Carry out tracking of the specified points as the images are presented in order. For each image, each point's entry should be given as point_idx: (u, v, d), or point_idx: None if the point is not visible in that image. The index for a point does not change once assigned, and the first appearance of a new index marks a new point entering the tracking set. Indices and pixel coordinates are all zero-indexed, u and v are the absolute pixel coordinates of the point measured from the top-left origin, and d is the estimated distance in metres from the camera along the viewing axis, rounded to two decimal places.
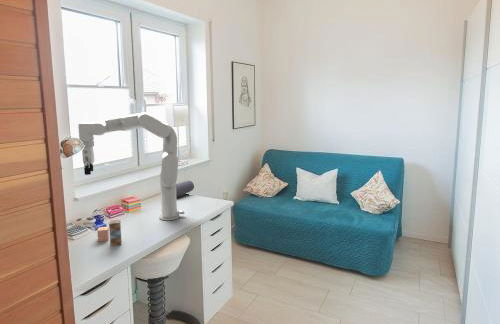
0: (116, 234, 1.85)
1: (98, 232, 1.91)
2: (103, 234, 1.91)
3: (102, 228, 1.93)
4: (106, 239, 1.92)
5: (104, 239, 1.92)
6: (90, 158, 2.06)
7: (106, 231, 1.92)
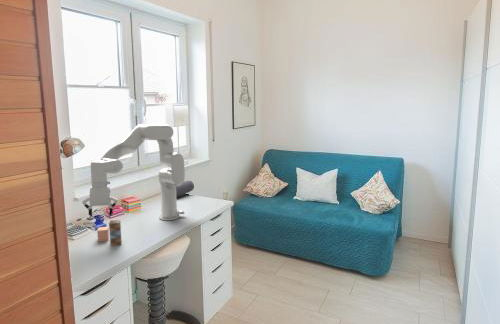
0: (116, 234, 1.85)
1: (98, 232, 1.91)
2: (103, 234, 1.91)
3: (102, 228, 1.93)
4: (106, 239, 1.92)
5: (104, 239, 1.92)
6: None
7: (106, 231, 1.92)
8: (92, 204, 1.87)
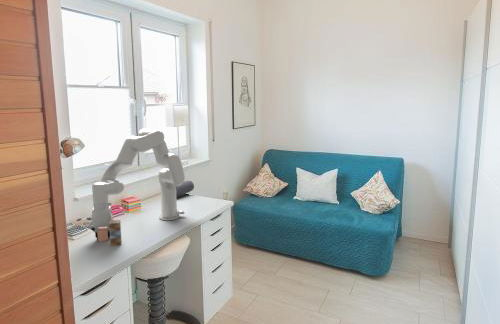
0: (116, 234, 1.85)
1: (98, 232, 1.90)
2: (103, 233, 1.91)
3: (102, 228, 1.93)
4: (106, 239, 1.92)
5: (104, 239, 1.92)
6: None
7: (106, 231, 1.91)
8: (94, 225, 1.90)
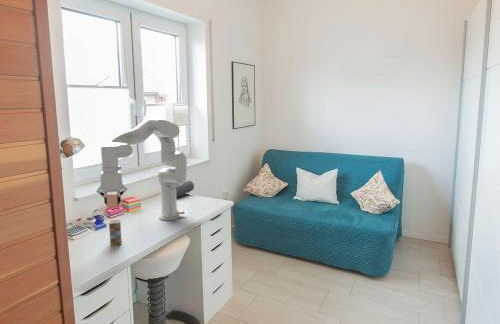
0: (116, 234, 1.85)
1: (107, 197, 1.81)
2: (113, 199, 1.82)
3: (111, 193, 1.84)
4: (115, 205, 1.83)
5: (114, 205, 1.83)
6: None
7: (115, 196, 1.82)
8: (103, 190, 1.81)
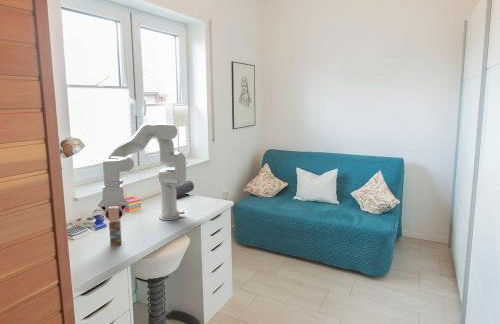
0: (116, 234, 1.85)
1: (109, 211, 1.82)
2: (114, 213, 1.83)
3: (113, 207, 1.85)
4: (117, 219, 1.84)
5: (115, 219, 1.84)
6: None
7: (117, 210, 1.83)
8: (105, 204, 1.82)
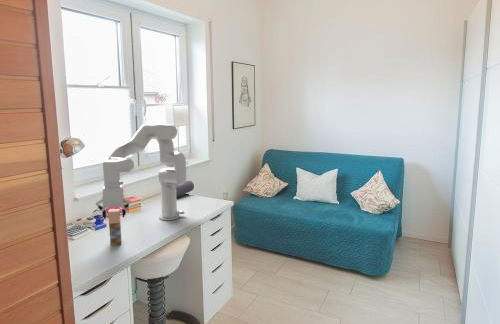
0: (116, 234, 1.85)
1: (109, 214, 1.83)
2: (115, 215, 1.83)
3: (113, 210, 1.85)
4: (117, 221, 1.84)
5: (115, 221, 1.84)
6: None
7: (117, 213, 1.84)
8: (105, 205, 1.82)
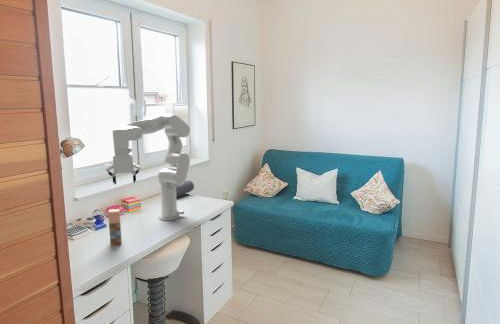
0: (116, 234, 1.85)
1: (109, 214, 1.83)
2: (115, 215, 1.83)
3: (113, 210, 1.85)
4: (117, 221, 1.84)
5: (115, 221, 1.84)
6: None
7: (117, 213, 1.84)
8: (116, 171, 1.89)
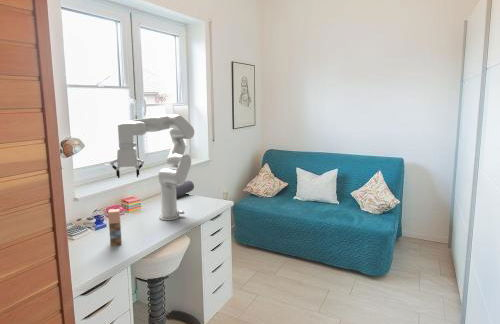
0: (116, 234, 1.85)
1: (109, 214, 1.83)
2: (115, 215, 1.83)
3: (113, 210, 1.85)
4: (117, 221, 1.84)
5: (115, 221, 1.84)
6: None
7: (117, 213, 1.84)
8: (120, 165, 1.93)
